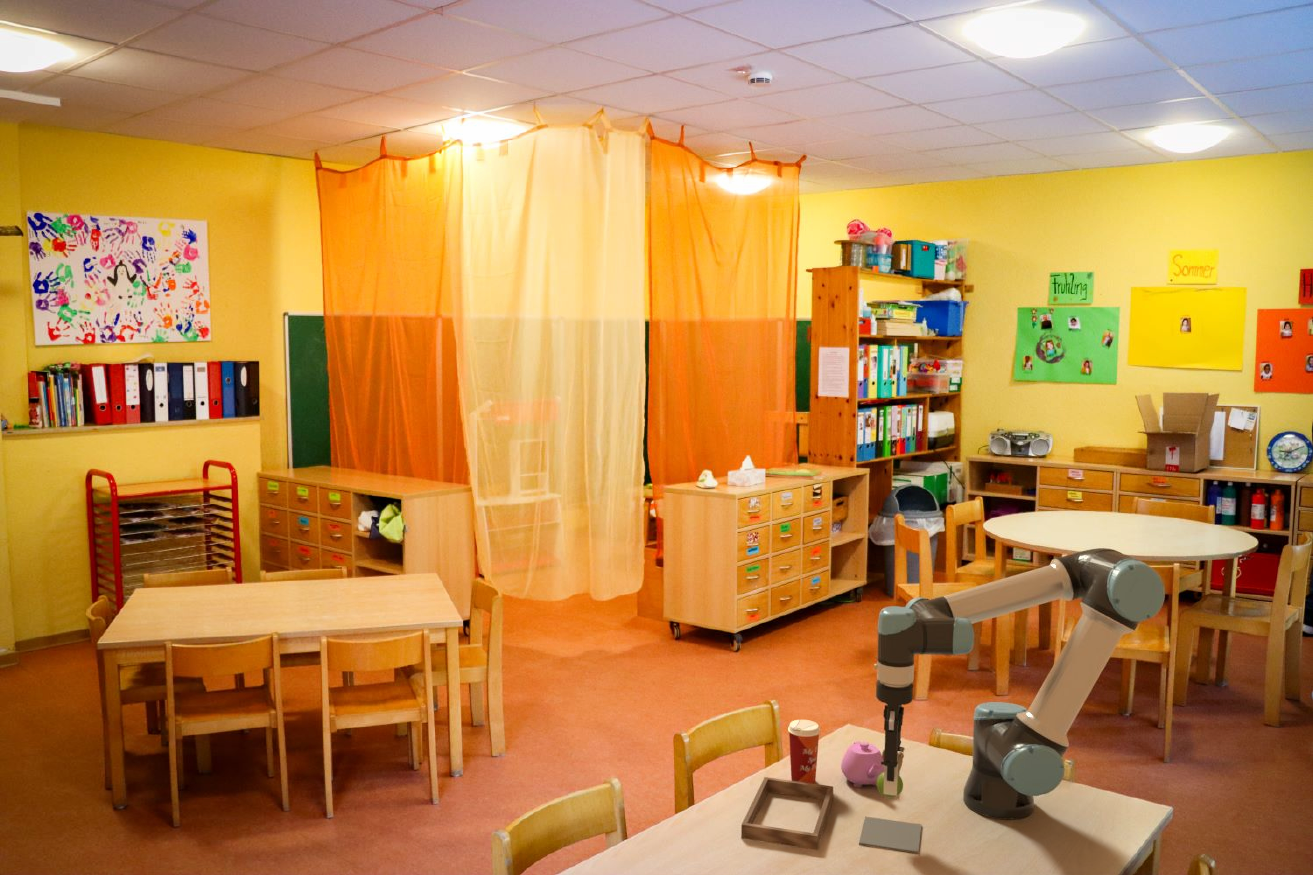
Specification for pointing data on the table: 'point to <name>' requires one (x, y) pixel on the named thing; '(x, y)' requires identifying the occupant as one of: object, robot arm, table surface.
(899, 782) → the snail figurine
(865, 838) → the slate mat
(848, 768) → the pink rounded piece
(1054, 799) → the table surface
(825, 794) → the brown wooden frame
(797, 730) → the paper cup
